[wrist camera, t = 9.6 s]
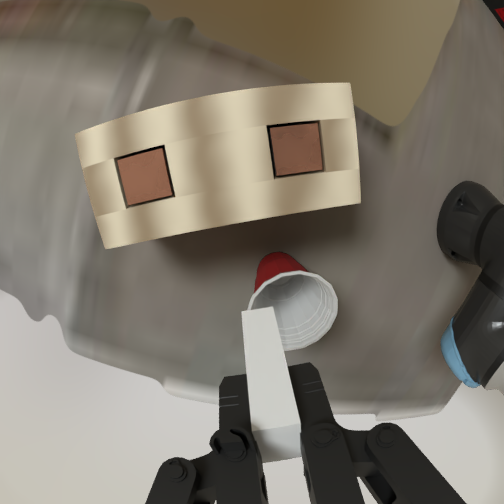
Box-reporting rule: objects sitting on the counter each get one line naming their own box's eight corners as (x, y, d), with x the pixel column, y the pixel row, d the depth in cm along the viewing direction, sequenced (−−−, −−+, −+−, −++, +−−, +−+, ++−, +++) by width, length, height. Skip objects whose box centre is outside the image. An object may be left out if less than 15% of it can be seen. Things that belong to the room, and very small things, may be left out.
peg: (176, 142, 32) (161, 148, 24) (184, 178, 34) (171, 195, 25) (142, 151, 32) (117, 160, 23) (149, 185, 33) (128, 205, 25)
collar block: (312, 94, 33) (350, 82, 22) (322, 180, 38) (360, 202, 27) (116, 130, 33) (74, 134, 22) (135, 214, 38) (105, 249, 27)
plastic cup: (302, 223, 41) (331, 260, 30) (317, 285, 45) (344, 333, 34) (229, 247, 41) (233, 293, 30) (252, 307, 46) (262, 360, 35)
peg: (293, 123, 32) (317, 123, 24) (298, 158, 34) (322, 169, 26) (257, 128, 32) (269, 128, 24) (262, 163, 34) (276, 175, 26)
